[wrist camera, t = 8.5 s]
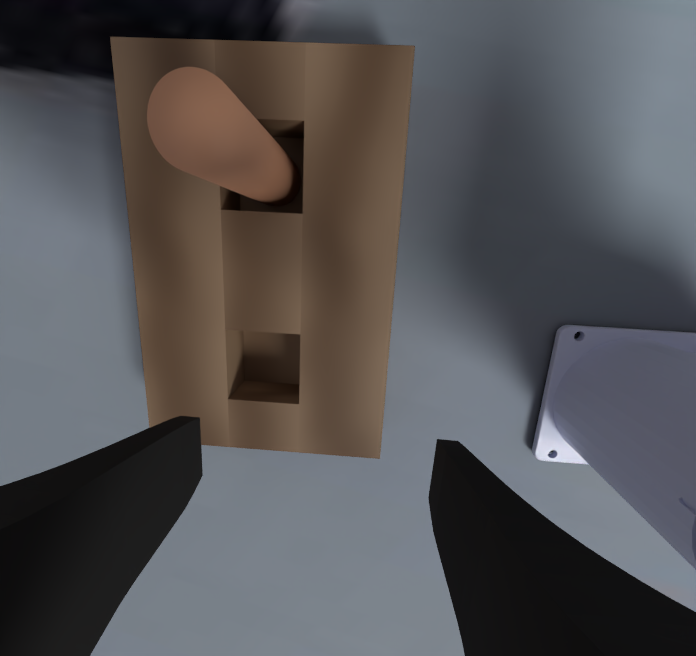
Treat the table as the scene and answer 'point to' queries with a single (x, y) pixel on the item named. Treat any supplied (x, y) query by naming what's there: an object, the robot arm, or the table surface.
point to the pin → (218, 137)
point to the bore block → (271, 246)
